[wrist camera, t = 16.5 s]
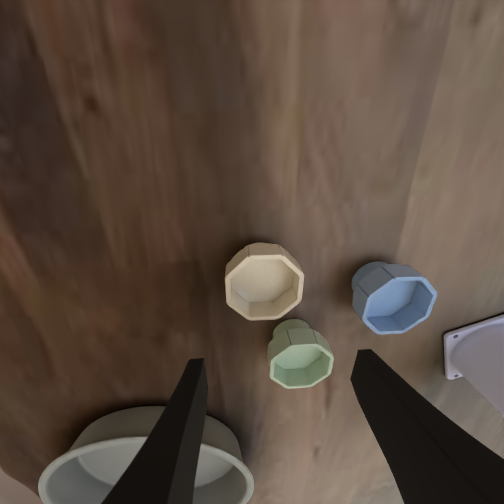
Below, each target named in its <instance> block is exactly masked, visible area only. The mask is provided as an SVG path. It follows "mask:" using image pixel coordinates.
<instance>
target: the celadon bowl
mask: <svg viewBox="0 0 504 504" xmlns="http://www.w3.org/2000/svg"><path fill="white" fill-rule="evenodd" d="M267 354H268V358H267V361H268V368H269V375H270V378H271V379H272V380H274V381H275V382H277V383H278V384H280V385H282V386H283V387H285V388H288V389H291V388H307V387H310V386H311V387H312V386H314V385H315V384H317V383H318V382H320V381H321V380H323V379H324V378H326V377H327V376H329V375H330V374H331V370H332V365H333V361H334V355H333V353H332V351H331V349H330V347H329V344H328V342H327V340H326V339H324V338H323V337H322V335H321V334H320V333H318V332H317V331H315V330H313V329H311V328H310V326H309V325H308V324H307V323H306V322H305V321H303V320H300V319H289V320H285V321H283V322H281V323H280V324H279V325H277V326H276V328H275V329H274V331H273V339H272V340H271V342H270V343H269V344H268V350H267Z"/></svg>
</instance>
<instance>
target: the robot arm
mask: <svg viewBox="0 0 504 504" xmlns="http://www.w3.org/2000/svg"><path fill="white" fill-rule="evenodd" d="M444 356H445V376H446V378H447V379H449V380H452V379H455V378H459V377H462V376H464V377H465V379H466V380H467V381H468V382H469V383H470V384H471V385H472V386H473V387H474V388H475V389H476V390H477V391H478V392H479V393H480V394H481V395H482V396H483V397H484V398H485V399H486V400H487V401H488V402H489V403H490V405H491V406H492V407H493V408H494V409H495V410H496V411H497V412H498V413H499V414H500V415H501V416H502V417H503V418H504V314H503V315H500V316H497V317H494V318H491V319H488V320H485V321H482V322H479V323H475V324H472V325H469V326H466V327H463V328H460V329H457V330H454V331H451V332H448V333H446V334H445V335H444ZM351 382H352V385H353V388H354V391H355V394H356V396H357V399H358V402H359V404H360V406H361V408H362V410H363V412H364V415H365V417H366V419H367V421H368V423H369V425H370V427H371V429H372V431H373V433H374V435H375V437H376V439H377V441H378V443H379V446H380V448H381V450H382V452H383V454H384V456H385V458H386V460H387V462H388V464H389V467H390V469H391V471H392V473H393V476H394V478H395V481H396V483H397V486H398V488H399V491H400V493H401V496H402V499H403V501H404V504H504V459H503V458H501V457H500V456H499V455H497V454H496V453H494V452H493V451H491V450H490V449H489V448H487V447H486V446H484V445H483V444H482V443H480V442H479V441H478V440H476V439H475V438H474V437H472V436H471V435H470V434H468V433H467V432H466V431H464V430H463V429H462V428H460V427H459V426H458V425H456V424H455V423H454V422H453V421H451V420H450V419H449V418H448V417H446V416H445V415H444V414H443V413H442V412H440V411H439V410H438V409H437V408H436V407H434V406H433V405H432V404H431V403H430V402H428V401H427V400H426V399H425V398H424V397H423V396H421V395H420V394H419V393H418V392H417V391H416V390H415V389H413V388H412V387H411V386H410V385H409V384H408V383H407V382H406V381H405V380H404V379H402V378H401V377H400V376H399V375H398V374H397V373H396V372H395V371H394V370H393V369H392V368H391V367H389V366H388V365H387V364H386V363H385V362H384V361H383V360H382V359H381V358H380V357H379V356H378V355H377V354H376V353H374V352H373V351H372V350H371V349H365V350H358V353H357V357H356V360H355V364H354V368H353V371H352V375H351ZM207 394H208V385H207V377H206V369H205V361H204V358H200V359H190V360H189V361H188V363H187V366H186V368H185V370H184V372H183V375H182V377H181V379H180V381H179V383H178V385H177V387H176V389H175V391H174V393H173V395H172V396H171V398H170V400H169V402H168V404H167V406H166V407H165V409H164V411H163V413H162V414H161V416H160V418H159V419H158V421H157V423H156V424H155V426H154V428H153V429H152V431H151V433H150V434H149V436H148V438H147V439H146V441H145V442H144V444H143V445H142V447H141V448H140V450H139V451H138V453H137V454H136V456H135V457H134V459H133V460H132V462H131V463H130V465H129V466H128V467H127V469H126V470H125V472H124V473H123V474H122V476H121V477H120V479H119V480H118V481H117V483H116V484H115V485H114V487H113V488H112V490H111V491H110V492H109V494H108V495H107V496H106V498H105V499H104V500H103V502H102V503H101V504H193V493H194V485H195V478H196V471H197V465H198V459H199V453H200V447H201V441H202V435H203V429H204V423H205V417H206V407H207Z"/></svg>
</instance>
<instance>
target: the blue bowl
mask: <svg viewBox="0 0 504 504" xmlns="http://www.w3.org/2000/svg"><path fill="white" fill-rule="evenodd" d="M352 289H353V291H354V293H353V304H352V306H353V308H354V310H355V311H356V313H357V314H358V315H359V317H360V318H361V320H362V321H363V322H364V323H365V324H366V325H367V326H368V327H369V328H370V329H371V330H372V331H373V332H375V333H376V334H378V335H381V334H401V333H403V332H404V333H405V332H406V331H408V330H410V329H411V328H413V327H414V326H416V325H417V324H419V323H420V322H422V321H423V320H425V319H427V317H429V315H430V312H431V310H432V307H433V305H434V303H435V300H436V298H437V292H436V291H435V289H434V288H433V287H432V285H431V284H430V283H429V282H428V280H427V279H426V278H425V277H424V276H423V275H421V274H420V273H419V272H417V271H416V270H415V269H413V268H412V267H410V266H408V265H400V264H388V263H385V262H381V261H375V262H371V263H368V264H366V265H364V266H362V267H361V268H360V269H359V270H358V271H357V272H356V273H355V275H354V276H353V279H352Z"/></svg>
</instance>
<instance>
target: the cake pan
mask: <svg viewBox="0 0 504 504" xmlns="http://www.w3.org/2000/svg"><path fill="white" fill-rule="evenodd" d="M165 407H166V406H144V407H135V408H129V409H124V410H120V411H117V412H113V413H111V414H108V415H106V416H103V417H101V418H99V419H98V420H96V421H94V422H93V423H91V424H90V425H89V426H88V427H87V428H86V429H84V431H83V432H82V433H81V434H80V436H79V437H78V438H77V440H76V441H75V443H74V444H73V445H72V447H71V448H70V449H69V451H68V452H66V453H64V454H63V455H61V456H60V457H58V458H57V459H55V460H54V461H53V462H52V463H51V464H49V466H48V467H47V468H46V469H45V470H44V472H43V473H42V475H41V477H40V479H39V485H38V491H39V495H40V497H41V499H42V501H43V503H44V504H101V503H102V502H103V500H104V499H105V498H106V496H107V495H108V494H109V492H110V491H111V490H112V488H113V487H114V485H115V484H116V483H117V481H118V480H119V479H120V477H121V476H122V474H123V473H124V472H125V470H126V469H127V467H128V466H129V465H130V463H131V462H132V460H133V459H134V457H135V456H136V454H137V453H138V451H139V450H140V448H141V447H142V445H143V444H144V442H145V441H146V439H147V438H148V436H149V434H150V433H151V431H152V429H153V428H154V426H155V424H156V423H157V421H158V419H159V418H160V416H161V414H162V413H163V411H164V409H165ZM253 490H254V480H253V476H252V474H251V472H250V470H249V469H248V468H247V466H246V465H245V464H244V463H243V460H242V456H241V452H240V447H239V443H238V440H237V438H236V436H235V435H234V434H233V432H232V431H231V430H230V429H229V428H228V427H227V426H226V425H224V424H223V423H221V422H220V421H218V420H216V419H215V418H213V417H210V416H208V415H206V417H205V423H204V429H203V435H202V441H201V447H200V453H199V459H198V465H197V471H196V478H195V485H194V493H193V504H246V503H247V502H248V501H249V499H250V497H251V495H252V493H253Z"/></svg>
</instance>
